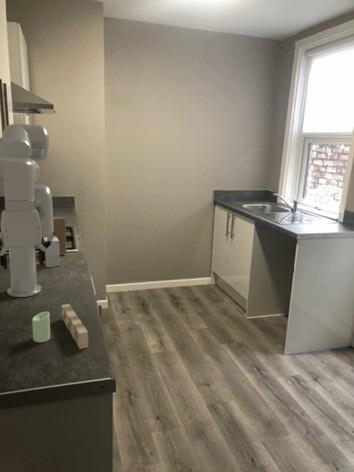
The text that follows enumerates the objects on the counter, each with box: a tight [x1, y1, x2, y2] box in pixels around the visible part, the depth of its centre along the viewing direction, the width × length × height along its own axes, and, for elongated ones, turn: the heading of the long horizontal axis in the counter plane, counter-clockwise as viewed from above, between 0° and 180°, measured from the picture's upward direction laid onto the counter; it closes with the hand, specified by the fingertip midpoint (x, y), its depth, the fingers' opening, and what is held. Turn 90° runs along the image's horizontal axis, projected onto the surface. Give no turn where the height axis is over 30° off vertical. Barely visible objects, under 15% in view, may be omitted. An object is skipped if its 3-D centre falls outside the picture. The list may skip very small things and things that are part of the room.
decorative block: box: [53, 216, 67, 256], centre depth 199 cm, size 11×6×20 cm, turn 113°
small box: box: [42, 237, 61, 268], centre depth 184 cm, size 8×6×13 cm
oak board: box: [61, 303, 89, 350], centre depth 122 cm, size 22×2×5 cm, turn 30°
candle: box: [31, 311, 51, 343], centre depth 117 cm, size 5×5×8 cm
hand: (23, 265), depth 108 cm, fingers open, 9 cm apart
